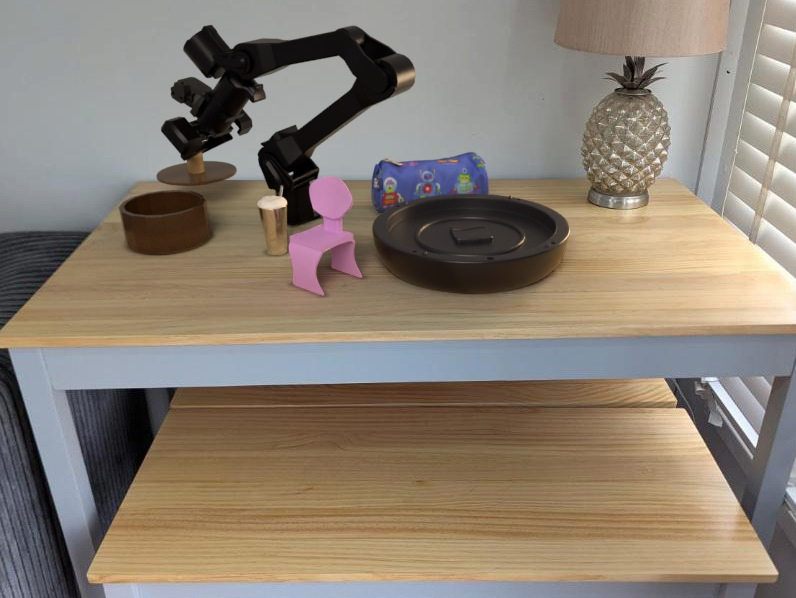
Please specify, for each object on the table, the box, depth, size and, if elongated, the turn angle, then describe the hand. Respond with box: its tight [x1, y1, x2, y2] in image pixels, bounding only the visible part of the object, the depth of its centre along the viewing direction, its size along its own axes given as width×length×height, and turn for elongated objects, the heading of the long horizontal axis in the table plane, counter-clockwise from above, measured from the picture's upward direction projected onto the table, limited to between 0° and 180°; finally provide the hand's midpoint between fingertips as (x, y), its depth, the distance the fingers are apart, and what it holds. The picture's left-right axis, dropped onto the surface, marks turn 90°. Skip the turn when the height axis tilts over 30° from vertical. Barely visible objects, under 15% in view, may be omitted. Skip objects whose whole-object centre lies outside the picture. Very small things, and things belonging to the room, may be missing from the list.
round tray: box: [371, 193, 571, 294], centre depth 120 cm, size 30×6×30 cm
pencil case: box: [370, 151, 490, 213], centre depth 140 cm, size 22×9×10 cm, turn 104°
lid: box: [155, 152, 238, 187], centre depth 143 cm, size 15×15×7 cm
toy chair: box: [288, 175, 364, 297], centre depth 110 cm, size 8×9×15 cm
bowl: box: [118, 189, 212, 256], centre depth 129 cm, size 14×14×6 cm
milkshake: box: [257, 185, 288, 256], centre depth 123 cm, size 5×5×10 cm
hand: (188, 156), depth 144 cm, fingers closed on lid, 3 cm apart
